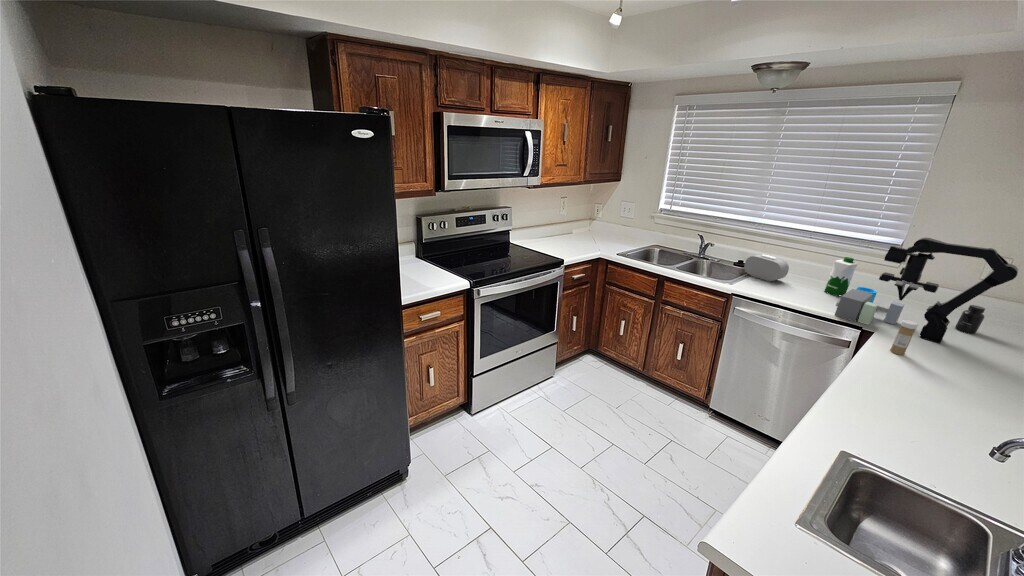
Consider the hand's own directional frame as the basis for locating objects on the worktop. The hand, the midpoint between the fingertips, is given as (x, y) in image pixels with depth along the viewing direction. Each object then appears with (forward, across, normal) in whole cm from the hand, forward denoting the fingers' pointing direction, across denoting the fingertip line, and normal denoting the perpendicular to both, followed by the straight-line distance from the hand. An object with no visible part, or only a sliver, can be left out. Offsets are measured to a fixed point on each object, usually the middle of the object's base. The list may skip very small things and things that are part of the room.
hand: (900, 300), depth 182 cm
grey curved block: (+13, +15, -1) cm, 20 cm away
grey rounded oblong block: (+13, +63, -21) cm, 68 cm away
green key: (+13, +13, +5) cm, 19 cm away
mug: (+13, +16, -24) cm, 32 cm away
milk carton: (+13, +29, -29) cm, 43 cm away
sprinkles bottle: (+13, -8, +30) cm, 34 cm away
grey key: (+13, +7, -7) cm, 16 cm away
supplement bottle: (+13, -22, -26) cm, 37 cm away
